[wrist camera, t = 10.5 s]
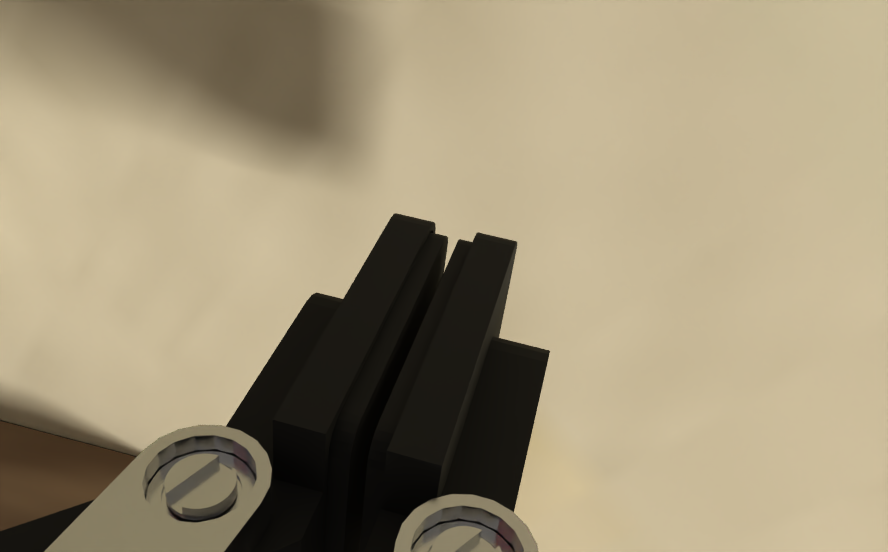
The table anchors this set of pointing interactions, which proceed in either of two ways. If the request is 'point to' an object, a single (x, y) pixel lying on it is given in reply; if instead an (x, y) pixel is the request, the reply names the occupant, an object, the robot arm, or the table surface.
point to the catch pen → (50, 473)
